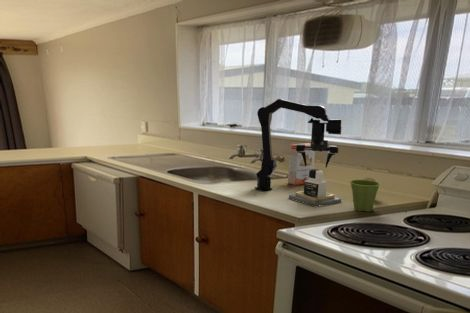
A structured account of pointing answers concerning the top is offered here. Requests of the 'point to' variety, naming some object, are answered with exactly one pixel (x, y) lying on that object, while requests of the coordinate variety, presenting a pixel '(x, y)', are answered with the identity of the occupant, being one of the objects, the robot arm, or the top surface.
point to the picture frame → (315, 199)
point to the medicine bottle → (315, 184)
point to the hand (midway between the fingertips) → (315, 167)
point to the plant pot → (364, 194)
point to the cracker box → (300, 165)
